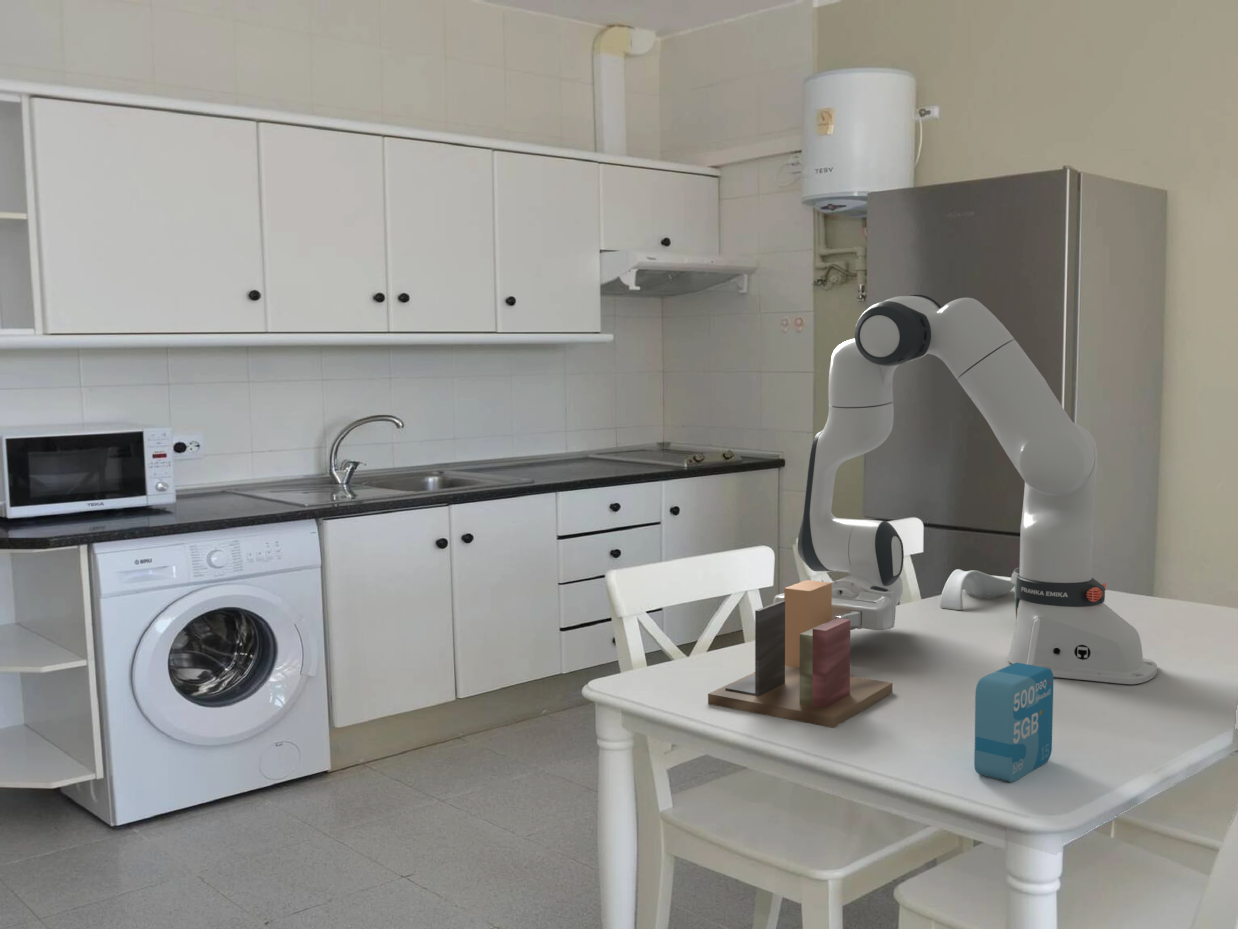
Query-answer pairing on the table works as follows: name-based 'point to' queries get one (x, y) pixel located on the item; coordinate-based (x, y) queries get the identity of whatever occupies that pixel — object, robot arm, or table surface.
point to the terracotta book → (804, 614)
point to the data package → (1013, 721)
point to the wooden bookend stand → (801, 675)
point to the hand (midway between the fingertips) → (811, 618)
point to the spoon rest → (972, 587)
